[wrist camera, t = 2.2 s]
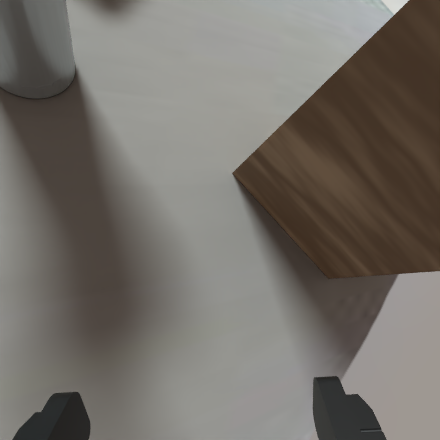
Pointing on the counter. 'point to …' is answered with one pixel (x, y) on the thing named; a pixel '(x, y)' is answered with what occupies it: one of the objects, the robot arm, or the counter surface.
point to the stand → (363, 157)
